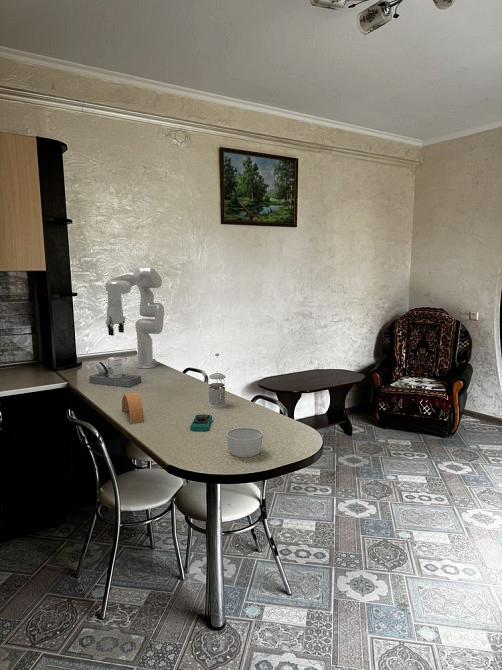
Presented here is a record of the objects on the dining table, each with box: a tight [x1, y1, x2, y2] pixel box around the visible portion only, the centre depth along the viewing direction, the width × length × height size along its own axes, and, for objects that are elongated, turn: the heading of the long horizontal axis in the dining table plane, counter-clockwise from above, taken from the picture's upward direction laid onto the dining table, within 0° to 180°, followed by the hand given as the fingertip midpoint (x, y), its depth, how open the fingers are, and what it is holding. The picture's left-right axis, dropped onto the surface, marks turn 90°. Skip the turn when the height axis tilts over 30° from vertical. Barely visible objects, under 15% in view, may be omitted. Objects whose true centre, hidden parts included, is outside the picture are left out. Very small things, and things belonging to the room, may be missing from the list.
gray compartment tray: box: [88, 372, 142, 388], centre depth 264 cm, size 12×26×4 cm, turn 71°
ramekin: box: [225, 426, 264, 458], centre depth 168 cm, size 13×13×7 cm
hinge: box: [95, 360, 108, 373], centre depth 280 cm, size 17×5×10 cm, turn 32°
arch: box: [121, 392, 145, 424], centre depth 206 cm, size 6×20×10 cm, turn 25°
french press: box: [206, 353, 228, 408], centre depth 225 cm, size 10×12×25 cm
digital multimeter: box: [189, 413, 213, 432], centre depth 196 cm, size 7×15×3 cm, turn 178°
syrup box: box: [107, 356, 123, 378], centre depth 264 cm, size 6×6×14 cm
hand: (116, 333), depth 266 cm, fingers open, 9 cm apart
